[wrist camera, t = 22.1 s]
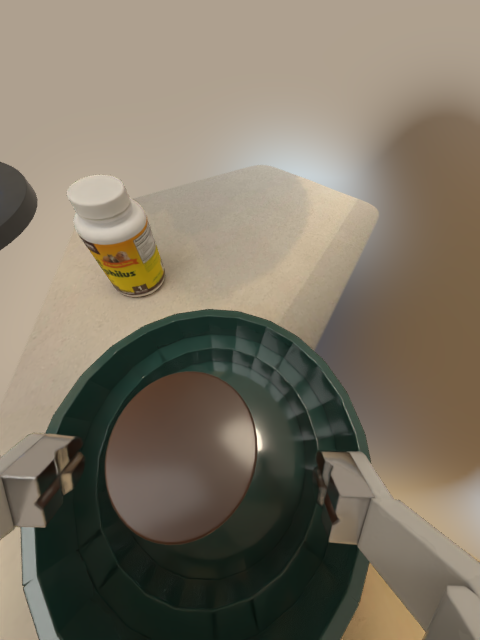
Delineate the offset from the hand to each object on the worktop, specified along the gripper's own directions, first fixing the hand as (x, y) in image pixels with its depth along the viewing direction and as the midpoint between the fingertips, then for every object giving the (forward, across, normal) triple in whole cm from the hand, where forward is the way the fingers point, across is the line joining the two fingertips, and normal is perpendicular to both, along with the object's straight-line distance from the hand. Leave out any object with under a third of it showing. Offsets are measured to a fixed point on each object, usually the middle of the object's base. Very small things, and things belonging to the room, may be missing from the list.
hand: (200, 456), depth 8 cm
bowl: (+8, 0, +8) cm, 11 cm away
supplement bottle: (+19, +10, -4) cm, 22 cm away
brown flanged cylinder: (+8, 0, +7) cm, 10 cm away
